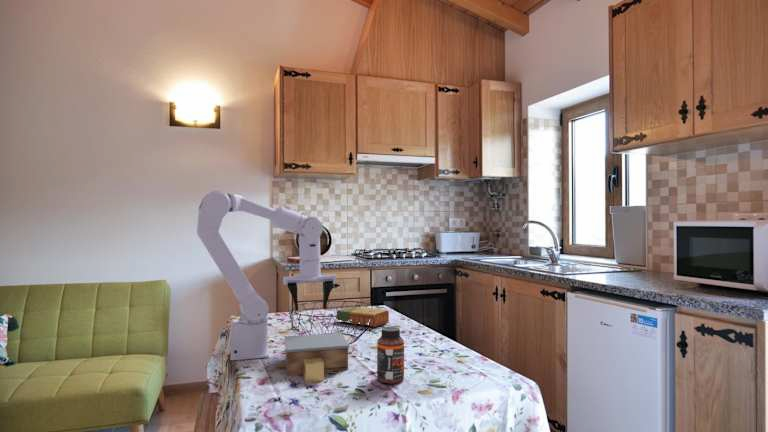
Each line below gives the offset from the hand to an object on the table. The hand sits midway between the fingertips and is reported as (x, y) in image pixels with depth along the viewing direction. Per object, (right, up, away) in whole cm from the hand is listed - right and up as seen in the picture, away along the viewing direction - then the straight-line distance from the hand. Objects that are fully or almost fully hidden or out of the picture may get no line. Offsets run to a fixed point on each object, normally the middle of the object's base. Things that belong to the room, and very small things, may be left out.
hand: (310, 309), depth 125 cm
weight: (+5, -11, -24) cm, 27 cm away
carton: (+18, -13, +23) cm, 32 cm away
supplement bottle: (+22, -11, -26) cm, 35 cm away
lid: (+4, -5, -15) cm, 16 cm away
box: (+4, -10, -15) cm, 18 cm away
